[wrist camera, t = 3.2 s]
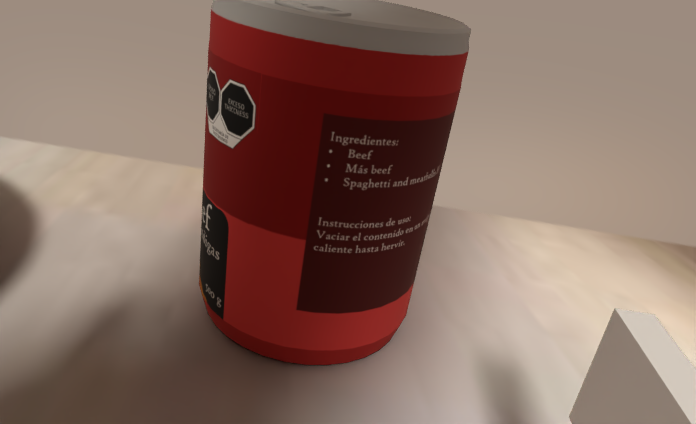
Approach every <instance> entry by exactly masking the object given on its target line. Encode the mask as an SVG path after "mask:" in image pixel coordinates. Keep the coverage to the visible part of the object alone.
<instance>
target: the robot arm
mask: <svg viewBox="0 0 696 424" xmlns="http://www.w3.org/2000/svg"><path fill="white" fill-rule="evenodd" d="M569 417H570V420H571V422H572V424H696V368H695V367H694V366H693V364H692V363H691V362H690V361H689V359H688V358H687V357H686V355H685V354H684V353H683V351H682V350H681V349H680V347H679V346H678V345H677V343H676V342H675V341H674V340H673V338H672V337H671V336H670V334H669V333H668V332H667V330H666V329H665V328H664V326H663V325H662V324H661V322H660V321H659V320H658V319H657V317H656V316H655V315H654V314H649V313H643V312H637V311H630V310H624V309H617V308H615V309H614V311H613V313H612V316H611V318H610V321H609V323H608V325H607V328H606V330H605V332H604V335H603V337H602V340H601V342H600V344H599V347H598V349H597V351H596V354H595V356H594V359H593V361H592V363H591V366H590V368H589V370H588V373H587V375H586V378H585V380H584V382H583V385H582V387H581V389H580V392H579V394H578V396H577V399H576V401H575V404H574V406H573V408H572V411H571V413H570V415H569Z"/></svg>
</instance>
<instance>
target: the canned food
mask: <svg viewBox="0 0 696 424" xmlns="http://www.w3.org/2000/svg"><path fill="white" fill-rule="evenodd" d="M470 33H471V29H470V28H469V27H468V26H467V25H465V24H464V23H462V22H460V21H458V20H455V19H453V18H450V17H447V16H443V15H440V14H436V13H433V12H429V11H425V10H420V9H416V8H412V7H408V6H403V5H398V4H394V3H389V2H383V1H378V0H213V3H212V7H211V24H210V41H209V50H208V76H207V101H206V125H205V150H204V151H205V153H204V175H203V201H202V226H201V251H200V276H199V286H200V289H201V292H202V296H203V299H204V302H205V305H206V308H207V311H208V314H209V316H210V317H211V319H212V320H213V322H214V324H215V325H216V326H217V327H218V328H219V329H220V330H221V331H222V332H223V333H224V334H225V335H226V336H227V337H229V338H230V339H232V340H233V341H235V342H236V343H238V344H239V345H241V346H243V347H244V348H247V349H249V350H251V351H253V352H256V353H258V354H260V355H263V356H266V357H270V358H273V359H277V360H280V361H284V362H290V363H297V364H304V365H331V364H339V363H347V362H351V361H354V360H358V359H361V358H365V357H367V356H369V355H370V354H372V353H374V352H376V351H378V350H380V349H381V348H382V347H383V346H384V345H385V344H387V343H388V342H389V341H390V339H391V338H392V336H393V335H394V333H395V332H396V330H397V329H398V327H399V326H400V324H401V323H402V321H403V319H404V318H405V316H406V313H407V309H408V305H409V300H410V296H411V292H412V288H413V284H414V280H415V275H416V271H417V267H418V263H419V259H420V255H421V251H422V246H423V242H424V238H425V234H426V230H427V226H428V221H429V217H430V213H431V209H432V205H433V201H434V196H435V192H436V188H437V184H438V180H439V176H440V172H441V167H442V163H443V159H444V155H445V151H446V147H447V142H448V138H449V134H450V130H451V126H452V122H453V117H454V113H455V109H456V105H457V101H458V97H459V93H460V88H461V82H462V77H463V72H464V68H465V64H466V60H467V55H468V50H469V37H470Z"/></svg>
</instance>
